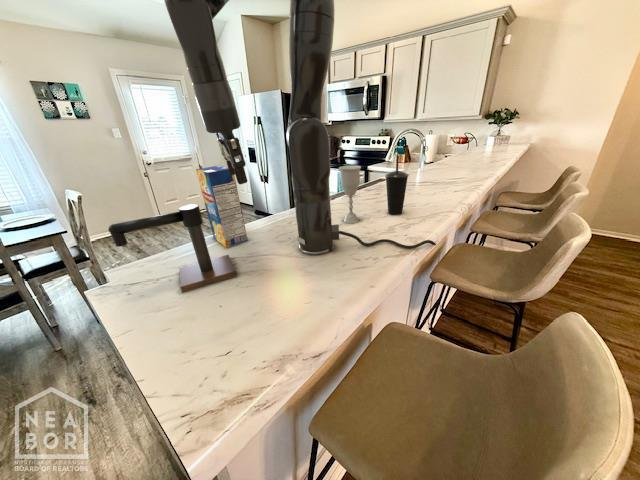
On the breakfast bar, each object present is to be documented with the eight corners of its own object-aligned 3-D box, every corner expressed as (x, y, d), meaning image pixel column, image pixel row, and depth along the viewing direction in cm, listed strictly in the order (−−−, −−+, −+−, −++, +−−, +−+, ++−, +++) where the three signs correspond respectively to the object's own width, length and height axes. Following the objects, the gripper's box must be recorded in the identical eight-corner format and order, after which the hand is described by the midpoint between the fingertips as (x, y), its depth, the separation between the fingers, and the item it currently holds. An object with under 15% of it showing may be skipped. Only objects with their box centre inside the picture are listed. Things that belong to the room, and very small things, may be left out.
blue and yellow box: (226, 247, 78) (208, 172, 69) (213, 237, 86) (195, 169, 77) (248, 240, 82) (233, 168, 73) (233, 231, 90) (218, 165, 80)
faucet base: (229, 259, 71) (218, 213, 66) (237, 276, 63) (225, 225, 57) (181, 272, 66) (164, 224, 61) (182, 292, 58) (163, 239, 53)
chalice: (364, 218, 92) (364, 165, 84) (356, 225, 87) (355, 169, 79) (346, 216, 95) (344, 165, 88) (337, 222, 90) (334, 169, 83)
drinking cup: (383, 210, 98) (384, 154, 90) (404, 209, 97) (407, 153, 89) (384, 217, 92) (386, 157, 83) (407, 216, 90) (411, 156, 82)
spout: (203, 224, 62) (197, 203, 60) (205, 229, 59) (199, 207, 56) (117, 242, 55) (107, 219, 53) (113, 249, 52) (103, 225, 50)
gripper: (242, 105, 52) (261, 182, 61) (227, 102, 63) (245, 167, 72) (204, 112, 50) (229, 191, 59) (195, 107, 61) (218, 175, 70)
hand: (238, 178), depth 65 cm, fingers open, 8 cm apart
